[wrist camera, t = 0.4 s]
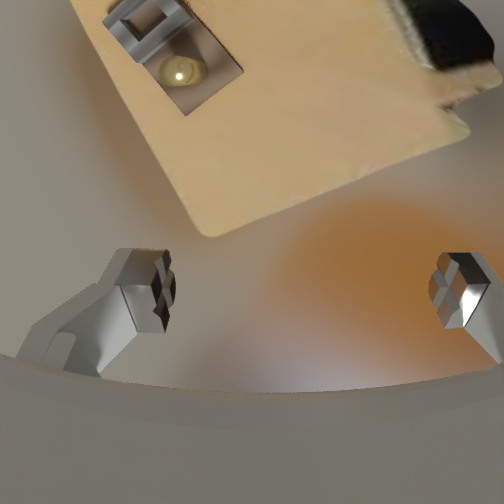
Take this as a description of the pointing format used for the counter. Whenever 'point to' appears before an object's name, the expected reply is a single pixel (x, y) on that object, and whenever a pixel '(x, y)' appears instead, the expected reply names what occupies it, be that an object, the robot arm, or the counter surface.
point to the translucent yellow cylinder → (182, 71)
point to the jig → (172, 46)
